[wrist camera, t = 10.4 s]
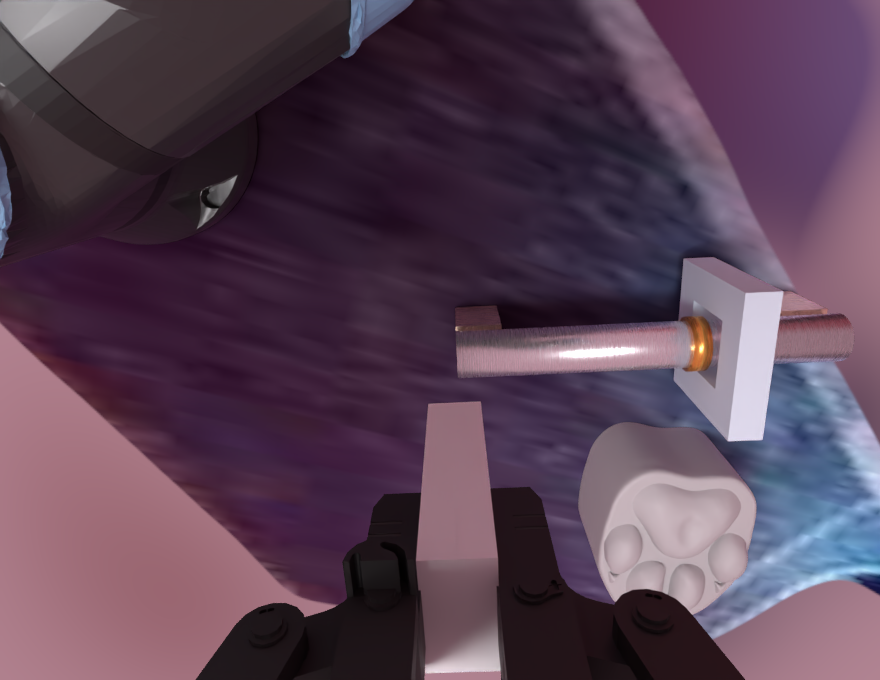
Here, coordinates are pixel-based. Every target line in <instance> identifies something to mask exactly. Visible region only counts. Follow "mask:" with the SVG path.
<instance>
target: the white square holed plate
mask: <svg viewBox="0 0 880 680" xmlns="http://www.w3.org/2000/svg"><path fill="white" fill-rule="evenodd" d="M782 298H783V291H782V290H780V289H778V288H776V287H774V286H772V285H770V284H768V283H766V282H764V281H762V280H759V279H757V278H755V277H753V276H751V275H749V274H747V273H745V272H743V271H741V270H739V269H737V268H735V267H733V266H731V265H729V264H727V263H725V262H723V261H721V260H719V259H716V258H714V257H704V258H685V259H684V260H683V272H682V284H681V297H680V309H679V320H680V319H681V318H682V317H687V316H703V317H704V318H705V319H706V320H707V319H721V320H722V321H723V323H722V332H721V341H720V350H719V359H718V366H716V367H709V368H708V369H707V370H705V371H693V372H686V371H684V370H683V369H682V368H675V370H674V381H675V382H676V383H677V385H678V386H679V387H680V388H681V389H682V390H683V391H684V392H685V394H686V395H687V396H688V397H689V398H690V399H691V400H692V401H693V403H694V404H695V405H696V406H697V407H698V408H699V409H700V410H701V412H702V413H703V414H704V415H705V416H706V417H707V418H708V419H709V421H710V422H711V423H712V424H713V425H714V426H715V427H716V429H717V430H718V431H719V432H720V433H721V434H722V435H723V436H724V438H725V439H726V440H727V441H747V440H763V432H764V425H765V418H766V411H767V404H768V397H769V390H770V383H771V376H772V369H773V362H774V355H775V348H776V341H777V334H778V327H779V320H780V313H781V306H782Z"/></svg>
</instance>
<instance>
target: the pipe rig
mask: <svg viewBox="0 0 880 680" xmlns="http://www.w3.org/2000/svg"><path fill="white" fill-rule="evenodd" d="M827 310H828V309H827V308H825V307H823V306H821V305H818V304H816V303H814V302H812V301H810V300H808V299H806V298H804V297H802V296H800V295H798V294H795V293H793V292H791V291H783V298H782V306H781V313H780V320H779V327H778V334H777V341H776V348H775V355H774V362H773V364H783V363H805V362H827V361H843V360H845V359H847V358H848V357H849V355H850V354H851V352H852V349H853V346H854V331H853V328H852V325H851V323H850V321H849V320H848V318H847V317H846V316H844V315H843V314H840V313H834V314H827ZM455 317H456V349H457V369H458V378H471V377H493V376H515V375H537V374H560V373H582V372H604V371H627V370H649V369H671V368H682V369H683V370H684V371H686V372H693V371H705V370H707V369H708V368H709V367H716V366H718V359H719V350H720V341H721V332H722V323H723V321H722V320H721V319H707V320H706V319H705V318H704V317H703V316H687V317H682V318H681V319H680V320H679V321H665V322H644V323H623V324H602V325H581V326H560V327H539V328H518V329H501V321H500V317H499V313H498V310H497V306H496V305H493V306H472V307H455Z"/></svg>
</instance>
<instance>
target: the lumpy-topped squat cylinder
mask: <svg viewBox="0 0 880 680" xmlns="http://www.w3.org/2000/svg"><path fill="white" fill-rule="evenodd" d="M579 513H580V516H581V519H582V522H583V525H584V528H585V531H586V534H587V537H588V540H589V543H590V546H591V549H592V552H593V555H594V558H595V561H596V564H597V567H598V570H599V573H600V575H601V578H602V580H603V582H604V584H605V586H606V588H607V590H608V592H609V594H610V596H611V597H612V599H613V600H614V601H615V602H616V601H617V600H618V598H619V597H620V596H621V595H622V594H624V593H626V592H629V591H631V590H636V589H650V590H655V591H660V592H663V593H665V594H667V595H669V596H671V597H673V598H675V599H677V600H678V601H679V602H680V603H681V604H682V605H684V606H685V607H686V608H687V609H688V611H689V612H690V613H691V614H692V615H693V614H695V613H697V612H699V611H701V610H703V609H704V608H706V607H707V606H708V605H710V604H711V603H712V602H713V601H715V600H716V599H717V598H718V597H719V596H720V595H721V594H722V593H723V592H724V591H725V590H726V589H728V588H729V587H730V585H731V584H732V583H733V582H734V580H736V579H738V578H739V577H740V576H741V575H742V574H743V573H744V571H745V569H746V567H747V562H748V554H747V551H748V548H749V545H750V542H751V538H752V532H753V528H754V524H755V518H756V500H755V497H754V495H753V493H752V491H751V490H750V488H749V487H748V486H747V484H746V483H745V482H744V481H743V480H742V478H741V477H740V476H739V475H738V473H737V472H736V471H735V470H734V468H733V467H732V466H731V465H730V464H729V462H728V461H727V460H726V459H725V458H724V456H723V455H722V454H721V453H720V452H719V450H718V449H717V448H716V447H715V446H714V444H713V443H712V442H711V441H710V440H709V438H708V437H707V436H706V435H705V434H704V433H703V432H701V431H700V430H697V429H694V428H689V427H675V428H657V427H652V426H647V425H643V424H639V423H632V422H624V423H619V424H616V425H613V426H611V427H610V428H608V429H607V430H605V431H604V432H603V433H602V434H601V435H600V436H599V437H598V438H597V439H596V441H595V442H594V444H593V446H592V448H591V450H590V453H589V455H588V459H587V462H586V465H585V468H584V472H583V476H582V481H581V486H580V493H579Z"/></svg>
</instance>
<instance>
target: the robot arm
mask: <svg viewBox="0 0 880 680" xmlns="http://www.w3.org/2000/svg"><path fill="white" fill-rule="evenodd" d="M413 1H414V0H0V267H2V266H5V265H8V264H11V263H15V262H18V261H21V260H24V259H27V258H31V257H34V256H37V255H40V254H44V253H47V252H50V251H53V250H56V249H60V248H63V247H66V246H69V245H72V244H76V243H79V242H82V241H85V240H88V239H92V238H95V237H98V236H100V237H104V238H108V239H112V240H116V241H121V242H125V243H132V244H144V245H146V244H163V243H169V242H174V241H178V240H181V239H184V238H187V237H190V236H192V235H194V234H197V233H199V232H202V231H204V230H206V229H208V228H209V227H211V226H213V225H214V224H216V223H217V222H219V221H220V220H221V219H223V218H224V217H225V216H226V215H227V214H228V213H229V212H230V211H231V210H232V209H233V208H234V207H235V205H236V204H237V203H238V201H239V200H240V198H241V197H242V195H243V194H244V192H245V190H246V188H247V186H248V184H249V181H250V179H251V176H252V173H253V170H254V166H255V161H256V156H257V146H258V132H257V121H256V115H255V112H257V111H258V110H260V109H261V108H263V107H264V106H266V105H267V104H269V103H270V102H272V101H273V100H275V99H276V98H278V97H279V96H280V95H282V94H283V93H285V92H286V91H288V90H289V89H291V88H292V87H294V86H295V85H297V84H298V83H300V82H301V81H303V80H304V79H306V78H307V77H309V76H310V75H312V74H313V73H315V72H316V71H318V70H319V69H321V68H322V67H324V66H325V65H327V64H328V63H330V62H331V61H333V60H334V59H336V58H337V57H339V56H341V57H343V58H348V57H350V56H352V55H353V54H354V53H355V52H356V50H357V49H358V48H359V46H360V45H361V43H362V41H363V40H364V39H366V38H367V37H368V36H370V35H371V34H372V33H374V32H375V31H376V30H378V29H379V28H380V27H382V26H383V25H385V24H386V23H387V22H389V21H390V20H391V19H393V18H394V17H395V16H397V15H398V14H399V13H401V12H402V11H404V10H405V9H406V8H407V7H408V6H410V4H411V3H412V2H413ZM342 563H343V570H344V577H345V584H346V592H347V599H346V600H345V601H344V602H343V603H341V604H339V605H338V606H336V607H334V608H332V609H329V610H327V611H325V612H321V613H318V614H314V615H311V616H308V617H304V614H303V613H302V612H301V611H300V610H299V609H298V608H297V607H295V606H292V605H289V604H287V603H272V604H268V605H265V606H261V607H258V608H256V609H255V610H253V611H251V612H249V613H248V614H246V615H245V616H244V617H243V618H242V619H241V620H240V621H239V622H238V623H237V624H236V625H235V626H234V628H233V629H232V630H231V632H230V633H229V635H228V636H227V637H226V639H225V640H224V641H223V643H222V644H221V646H220V647H219V648H218V650H217V651H216V652H215V654H214V655H213V657H212V658H211V659H210V661H209V662H208V663H207V665H206V666H205V668H204V669H203V670H202V672H201V673H200V674H199V676H198V677H197V679H196V680H424V675H425V671H426V673H443V672H444V673H445V672H481V671H501V680H745V679H744V678H743V676H742V675H741V674H740V673H739V671H738V670H737V669H736V668H735V666H734V665H733V664H732V663H731V662H730V660H729V659H728V658H727V657H726V656H725V654H724V653H723V652H722V651H721V650H720V648H719V647H718V646H717V645H716V643H715V642H714V641H713V640H712V638H711V637H710V636H709V635H708V634H707V632H706V631H705V630H704V629H703V628H702V626H701V625H700V624H699V623H698V621H697V620H696V619H695V618H694V617H693V615H692V614H691V613H690V612H689V611H688V609H687V608H686V607H685V606H684V605H682V604H681V603H680V602H679V601H678V600H677V599H675V598H673V597H671V596H669V595H667V594H665V593H663V592H660V591H655V590H650V589H636V590H631V591H629V592H626V593H624V594H622V595H621V596H620V597H619V598H618V600H617V601H616V602H615V605H612V604H608V603H603V602H599V601H595V600H592V599H588V598H585V597H583V596H581V595H580V594H578V593H576V592H574V591H573V590H572V589H571V588H569V587H568V586H567V584H566V582H565V580H564V579H563V578H562V577H561V575H560V573H559V569H558V565H557V561H556V557H555V553H554V549H553V545H552V541H551V537H550V532H549V529H548V524H547V520H546V517H545V512H544V508H543V504H542V500H541V498H540V497H539V496H538V495H537V494H536V493H535V492H534V491H533V490H532V489H531V488H530V487H519V488H493V489H490V482H489V473H488V464H487V455H486V446H485V437H484V428H483V418H482V409H481V402H459V403H437V404H428V415H427V428H426V441H425V453H424V466H423V478H422V491H421V493H404V494H384V496H383V497H382V498H381V499H380V500H379V502H378V503H377V504H376V505H375V506H374V508H373V513H372V518H371V525H370V527H369V532H368V537H367V540H366V541H364V542H362V543H360V544H357V545H356V546H355V547H353V548H352V549H351V550H350V551H349V552H347V554H346V556H345V558H344V560H343V562H342Z"/></svg>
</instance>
